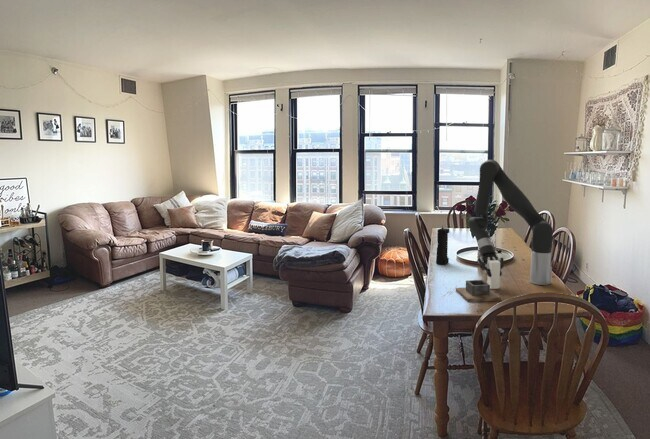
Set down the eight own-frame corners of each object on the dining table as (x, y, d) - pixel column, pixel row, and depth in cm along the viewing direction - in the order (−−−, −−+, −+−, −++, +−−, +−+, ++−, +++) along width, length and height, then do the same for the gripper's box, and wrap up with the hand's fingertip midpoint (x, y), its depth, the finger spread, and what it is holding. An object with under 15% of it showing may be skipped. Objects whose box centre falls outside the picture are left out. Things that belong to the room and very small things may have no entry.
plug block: (495, 285, 215) (496, 260, 213) (499, 288, 210) (500, 262, 208) (487, 285, 215) (487, 260, 213) (490, 288, 210) (491, 262, 208)
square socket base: (486, 289, 210) (486, 277, 208) (500, 300, 194) (501, 287, 193) (455, 290, 209) (455, 278, 208) (467, 301, 193) (467, 288, 192)
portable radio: (440, 261, 266) (441, 223, 262) (449, 262, 262) (450, 224, 258) (435, 263, 260) (435, 225, 256) (444, 265, 256) (445, 226, 252)
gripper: (475, 244, 216) (484, 273, 206) (501, 243, 217) (511, 272, 207) (471, 252, 222) (479, 280, 212) (496, 251, 223) (506, 279, 213)
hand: (495, 276), depth 210 cm, fingers closed on plug block, 4 cm apart
